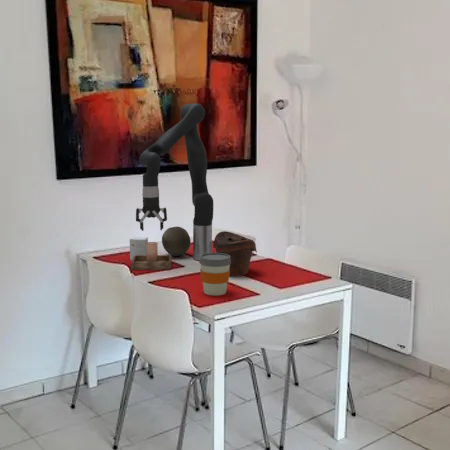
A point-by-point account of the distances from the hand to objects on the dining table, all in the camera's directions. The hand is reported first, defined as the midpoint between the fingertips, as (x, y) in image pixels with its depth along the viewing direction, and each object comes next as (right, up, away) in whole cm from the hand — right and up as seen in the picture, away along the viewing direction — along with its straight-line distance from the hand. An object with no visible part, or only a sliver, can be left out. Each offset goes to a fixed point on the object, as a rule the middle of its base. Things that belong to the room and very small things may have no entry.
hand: (151, 230), depth 289 cm
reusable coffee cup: (+30, -25, -36) cm, 53 cm away
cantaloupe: (+10, -13, +23) cm, 28 cm away
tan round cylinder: (0, -16, +3) cm, 16 cm away
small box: (-8, -14, +17) cm, 24 cm away
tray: (0, -17, +3) cm, 17 cm away
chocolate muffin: (+38, -19, -6) cm, 43 cm away
